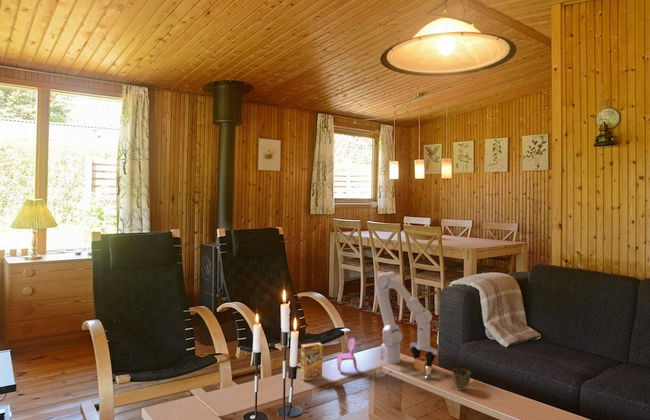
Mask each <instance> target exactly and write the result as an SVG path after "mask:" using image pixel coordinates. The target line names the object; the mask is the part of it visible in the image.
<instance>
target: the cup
mask: <svg viewBox="0 0 650 420" xmlns="http://www.w3.org/2000/svg"><path fill="white" fill-rule="evenodd" d="M451 371H452V376H453V377H452V378H453V383H454V384H455V385H456V389H457V390H458V391H463V392H464V391H466V389H467V387H468V386H469V385H470V380H471V373H472V372H471V370H469V369H467V368H466V367H464V368H462V367H460V368H459V369H458V367H454V368H453V369H452V370H451Z"/></svg>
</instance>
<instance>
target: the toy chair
mask: <svg viewBox="0 0 650 420" xmlns="http://www.w3.org/2000/svg"><path fill="white" fill-rule="evenodd" d="M355 344H356V339H355V338H352V337H351V338H349V339H348V344H347V349H348V351H349V352H346V353H345V352H344V353H337V354H338V355H337V359H336V366H337V370H338V372H339V371H340V372H339V373H340V374H341V373H342V369H341V364H342V362H344V361H347V360H348V361H350V360H352V362H353V368H354V370H355V372H356V373H357V374H359V370H358V366H357V359H356V357H355V347H356V345H355Z"/></svg>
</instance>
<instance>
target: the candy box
mask: <svg viewBox="0 0 650 420" xmlns="http://www.w3.org/2000/svg"><path fill="white" fill-rule="evenodd" d="M300 375H301V376H300V378H301V380H302V381H304V380H306V381H311V379H312V380H318V378H320V379H323V344H322V343H321V342H319V341H318V342H310V343H309V342H308V343H304V344H303V343H302V344H300Z"/></svg>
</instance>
